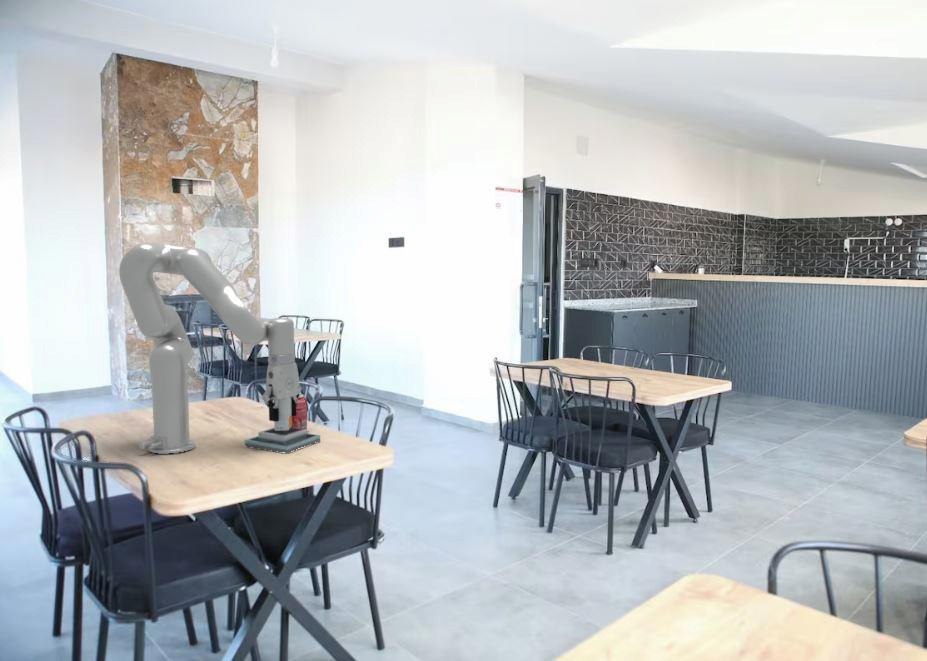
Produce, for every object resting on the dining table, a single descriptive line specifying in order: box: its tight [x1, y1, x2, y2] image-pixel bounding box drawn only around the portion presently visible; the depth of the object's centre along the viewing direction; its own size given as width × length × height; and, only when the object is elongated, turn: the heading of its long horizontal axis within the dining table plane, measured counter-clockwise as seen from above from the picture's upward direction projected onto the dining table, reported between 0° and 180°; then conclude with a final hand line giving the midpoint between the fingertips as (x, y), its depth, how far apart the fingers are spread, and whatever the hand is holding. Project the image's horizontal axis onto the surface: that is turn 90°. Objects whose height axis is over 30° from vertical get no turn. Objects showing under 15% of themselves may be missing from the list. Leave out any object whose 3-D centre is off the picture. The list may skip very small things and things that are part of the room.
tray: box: [244, 427, 321, 454], centre depth 202 cm, size 15×16×4 cm
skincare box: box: [273, 391, 292, 431], centre depth 202 cm, size 6×4×12 cm
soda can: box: [291, 393, 308, 430], centre depth 216 cm, size 7×7×12 cm
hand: (283, 417), depth 202 cm, fingers closed on skincare box, 7 cm apart
